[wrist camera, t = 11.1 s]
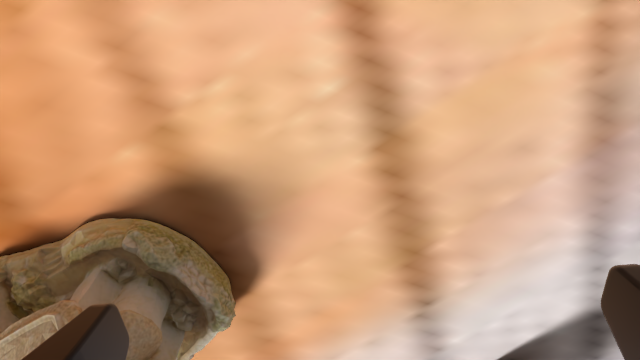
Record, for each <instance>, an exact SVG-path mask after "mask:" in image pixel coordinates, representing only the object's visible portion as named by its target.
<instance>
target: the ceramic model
mask: <svg viewBox="0 0 640 360" xmlns="http://www.w3.org/2000/svg"><path fill="white" fill-rule="evenodd" d="M106 303H112V304H114V305H116V306H117V308H118V310H119V312H120V314H121V317H122V319H123V321H124V324H125V326H126V328H127V331H128V334H129V341H130V342H129V349H128V353H127V357H126V360H190V359H191V358H193V357H194V354H195V353H197V352H198V351H200V350H202V349H203V348H204V347H205V346H206V345H207V344H208V343H209V342H210V341H211V340H212V339H213V338H214V337H215V335H216V334H217V333H218V332H220V331H224V330H226V329H227V328H229V327H230V325H231V321H232V320H233V317H235V316H236V315H235V311H234V308H235V304H236V303H235V301H234V299H233V295H232V291H231V285H230V281H229V279H228V276H227V275H226V274H225V273H224V272H223V270H222V269H221V268H220V266H219V265H218V264H217V263H216V262H215V261H214V260H213V259H212V258H211V257H210V256H209V255H208V254H207V253H206V252H205V250H203V249H202V248H201V247H200V246H199V245H197V244H196V243H195V242H194V241H192V240H191V239H189V238H188V237H186V236H184V235H182V234H178V232H176V231H174V230H172V229H170V228H168V227H165V226H162V225H161V224H158V223H154V222H151V221H147V220H143V219H130V218H128V219H115V218H108V219H100V220H96V221H92V222H88V223H86V224H85V225H83V226H81V227H79V228H78V229H77V230H75V231H74V232H73V233H71V234H70V235H69V236H68V237H66V238H65V239H63V240H61V241H58V242H54V243H49V244H45V245H42V246H40V247H38V248H37V247H36V248H34V249H31V250H27V251H24V252H19V253H15V254H12V255H5V256H2V257H0V360H21V359H23V358H24V357H25V356H26V355H28V354H29V353H30V352H31V351H33V350H34V349H35V348H37V347H38V346H39V345H40V344H42V343H43V342H44V341H45V340H47V339H48V338H49V337H51V336H52V335H53V334H54V333H56V332H57V331H58V330H60V329H61V328H62V327H63V326H65V325H66V324H67V323H68V322H70V321H71V320H72V319H74V318H75V317H76V316H77V315H79V314H80V313H81V312H83V311H84V310H85V309H86V308H88V307H89V306H91V305H94V304H106Z"/></svg>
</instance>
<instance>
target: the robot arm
mask: <svg viewBox="0 0 640 360" xmlns="http://www.w3.org/2000/svg"><path fill="white" fill-rule="evenodd" d="M601 308H602V312H603V314H604V317H605V319H606V321H607V323H608V325H609V327H610V329H611V332H612V334H613V336H614V338H615V340H616V342H617V344H618V347H619V349H620V351H621V353H622V355H623V357H624V359H625V360H640V265H637V264H630V265H617V266H614V267H612V268H611V269H610V270H609V273H608V276H607V280H606V284H605V287H604V291H603V294H602V298H601ZM129 342H130V341H129V334H128V331H127V328H126V326H125V324H124V321H123V319H122V317H121V314H120V312H119V310H118V308H117V306H116V305H114V304H112V303H106V304H94V305H91V306H89V307H88V308H86V309H85V310H84V311H83V312H81V313H80V314H79V315H77V316H76V317H75V318H74V319H72V320H71V321H70V322H68V323H67V324H66V325H65V326H63V327H62V328H61V329H60V330H58V331H57V332H56V333H54V334H53V335H52V336H51V337H49V338H48V339H47V340H45V341H44V342H43V343H42V344H40V345H39V346H38V347H37V348H35V349H34V350H33V351H31V352H30V353H29V354H28V355H26V356H25V357H24V358H23V359H21V360H126V357H127V353H128V349H129Z"/></svg>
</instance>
